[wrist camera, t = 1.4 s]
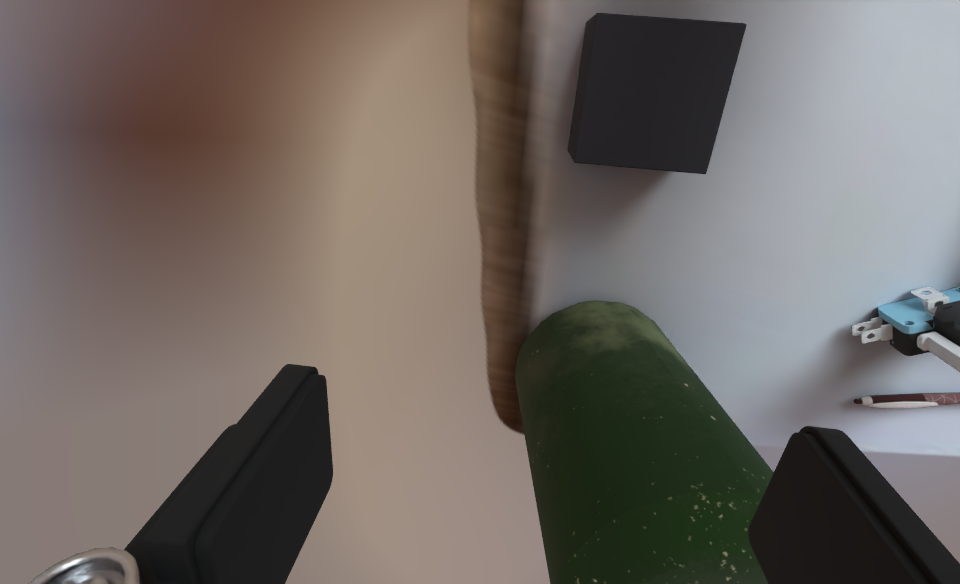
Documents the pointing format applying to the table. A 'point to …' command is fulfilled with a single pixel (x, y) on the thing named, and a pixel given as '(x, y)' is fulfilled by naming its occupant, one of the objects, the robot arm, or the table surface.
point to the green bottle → (633, 456)
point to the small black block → (652, 91)
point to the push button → (919, 325)
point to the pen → (909, 400)
